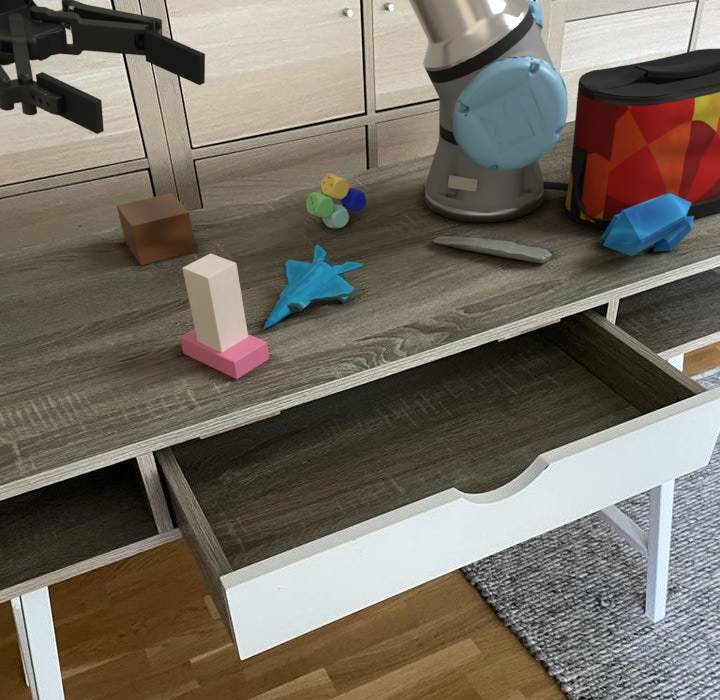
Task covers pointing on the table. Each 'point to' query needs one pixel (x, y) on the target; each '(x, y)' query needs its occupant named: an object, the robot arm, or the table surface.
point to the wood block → (157, 228)
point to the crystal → (650, 225)
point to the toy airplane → (311, 284)
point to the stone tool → (496, 248)
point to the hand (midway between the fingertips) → (154, 92)
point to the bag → (647, 137)
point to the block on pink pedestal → (219, 319)
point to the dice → (327, 209)
